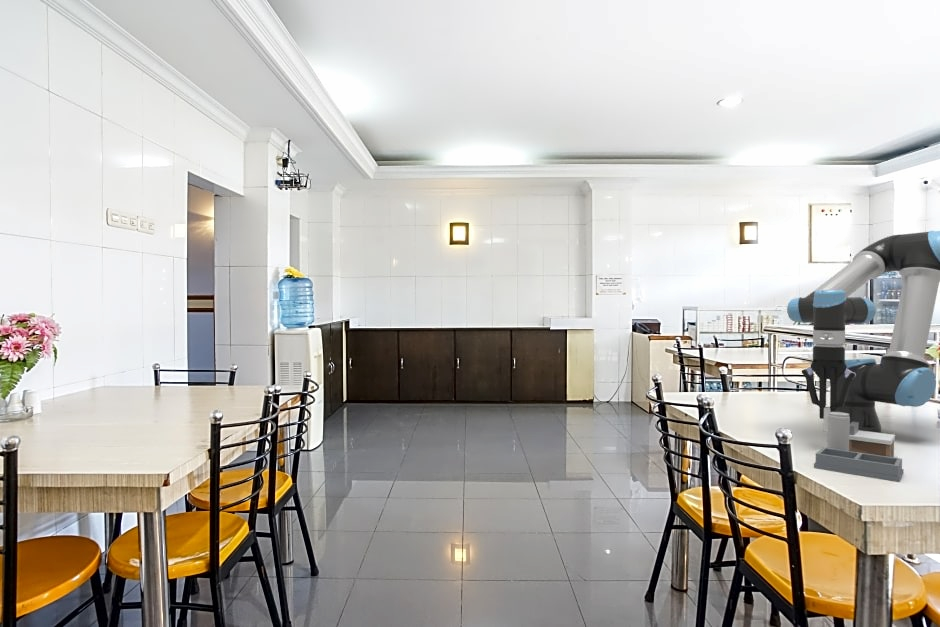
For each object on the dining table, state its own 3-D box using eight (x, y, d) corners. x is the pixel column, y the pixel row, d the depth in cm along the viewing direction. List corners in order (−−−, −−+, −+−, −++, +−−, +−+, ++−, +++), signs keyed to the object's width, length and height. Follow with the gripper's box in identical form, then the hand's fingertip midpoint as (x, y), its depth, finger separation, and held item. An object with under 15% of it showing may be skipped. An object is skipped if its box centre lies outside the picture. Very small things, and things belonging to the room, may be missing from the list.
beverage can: (823, 458, 152) (823, 412, 151) (835, 456, 154) (835, 411, 153) (841, 462, 147) (841, 415, 147) (853, 460, 149) (854, 414, 149)
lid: (853, 433, 159) (853, 421, 159) (895, 438, 153) (895, 425, 153) (847, 439, 152) (847, 426, 152) (890, 444, 146) (891, 431, 146)
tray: (853, 450, 159) (853, 434, 159) (893, 456, 153) (894, 439, 153) (847, 457, 152) (848, 440, 152) (889, 463, 147) (889, 445, 146)
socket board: (821, 460, 149) (821, 447, 149) (903, 473, 138) (903, 458, 138) (813, 467, 142) (814, 453, 142) (899, 481, 131) (899, 466, 131)
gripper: (798, 345, 161) (797, 429, 161) (854, 347, 152) (853, 437, 152) (805, 344, 166) (804, 425, 167) (859, 346, 157) (858, 432, 158)
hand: (827, 431), depth 159 cm, fingers closed
